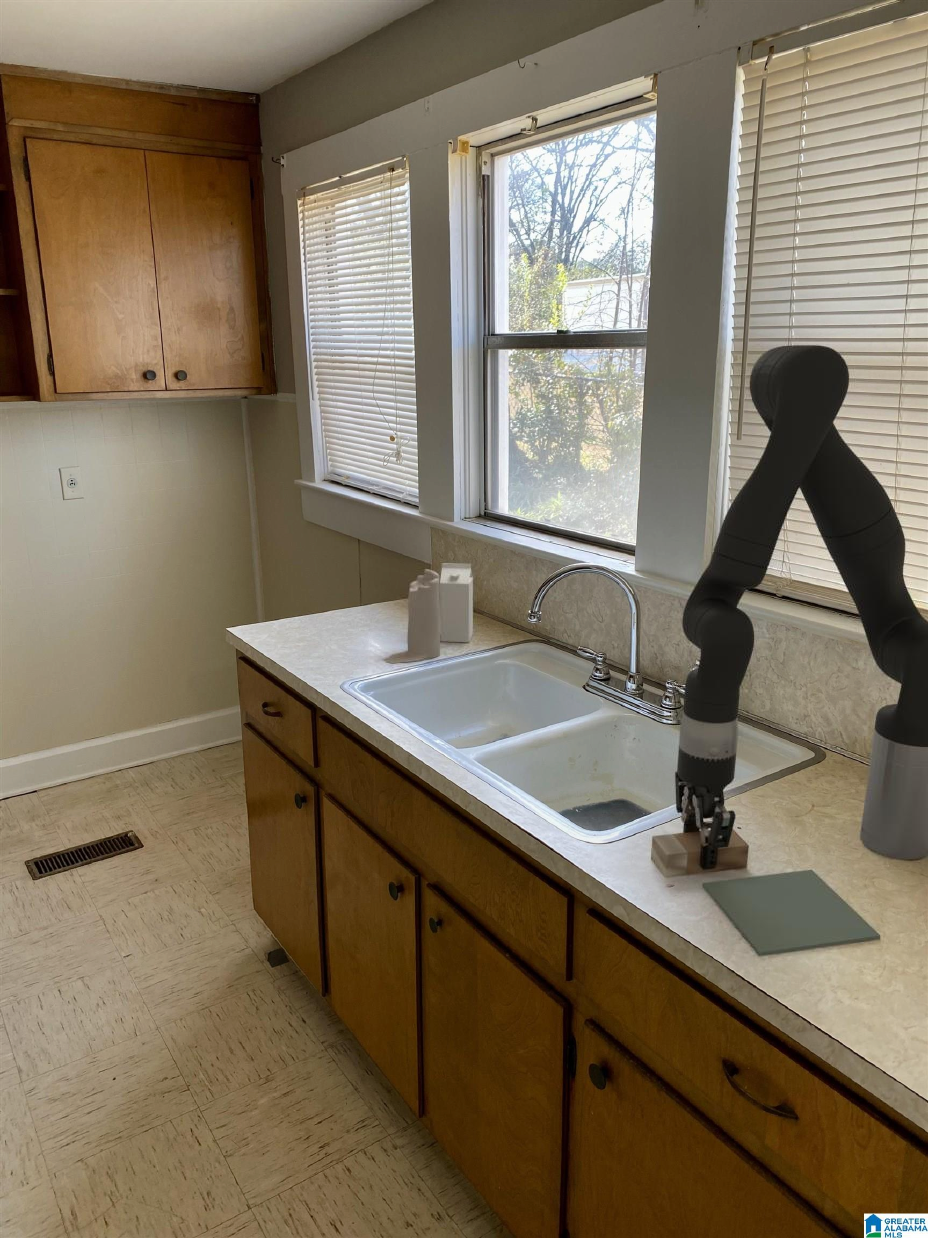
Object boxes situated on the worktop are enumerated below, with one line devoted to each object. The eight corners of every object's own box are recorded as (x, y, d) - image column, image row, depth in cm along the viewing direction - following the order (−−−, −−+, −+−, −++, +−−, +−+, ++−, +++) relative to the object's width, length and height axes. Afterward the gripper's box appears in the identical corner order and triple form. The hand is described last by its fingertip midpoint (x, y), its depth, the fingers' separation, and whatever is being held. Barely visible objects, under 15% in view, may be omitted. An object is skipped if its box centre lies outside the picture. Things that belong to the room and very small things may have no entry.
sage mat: (811, 872, 125) (811, 869, 125) (880, 939, 111) (880, 935, 111) (702, 886, 122) (702, 883, 122) (759, 956, 108) (759, 952, 108)
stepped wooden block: (729, 849, 131) (731, 827, 130) (746, 868, 127) (748, 845, 126) (650, 858, 129) (652, 836, 128) (665, 877, 124) (666, 854, 123)
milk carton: (445, 633, 232) (444, 560, 226) (472, 634, 231) (472, 560, 225) (440, 642, 225) (439, 566, 220) (469, 643, 224) (469, 567, 219)
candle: (378, 657, 214) (376, 574, 208) (430, 648, 220) (429, 566, 215) (392, 666, 208) (390, 580, 202) (445, 656, 214) (444, 573, 209)
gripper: (760, 765, 117) (748, 882, 121) (709, 722, 130) (701, 829, 135) (705, 770, 115) (696, 889, 120) (660, 726, 129) (653, 834, 134)
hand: (698, 856), depth 127 cm, fingers closed on stepped wooden block, 5 cm apart
